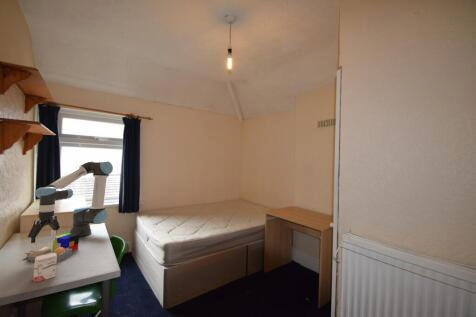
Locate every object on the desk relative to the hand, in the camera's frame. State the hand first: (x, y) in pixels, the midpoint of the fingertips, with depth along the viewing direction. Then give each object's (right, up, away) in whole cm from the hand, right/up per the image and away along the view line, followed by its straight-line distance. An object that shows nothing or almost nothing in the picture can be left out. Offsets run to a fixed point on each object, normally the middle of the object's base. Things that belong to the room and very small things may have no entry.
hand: (44, 243), depth 134 cm
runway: (+4, -10, 0) cm, 11 cm away
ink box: (+22, -9, -23) cm, 33 cm away
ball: (+10, -6, 0) cm, 11 cm away
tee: (-8, -8, 0) cm, 12 cm away
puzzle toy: (+5, -9, +11) cm, 15 cm away
